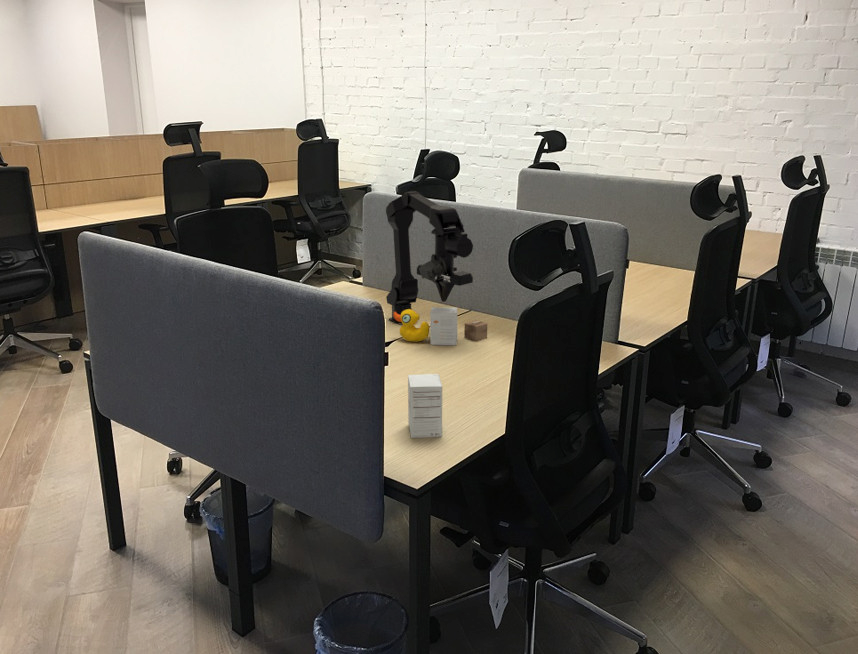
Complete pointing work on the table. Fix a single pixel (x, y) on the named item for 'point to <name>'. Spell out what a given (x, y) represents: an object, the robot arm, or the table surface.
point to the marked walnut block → (475, 330)
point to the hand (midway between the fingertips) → (443, 301)
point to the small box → (443, 326)
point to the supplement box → (425, 405)
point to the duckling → (412, 326)
